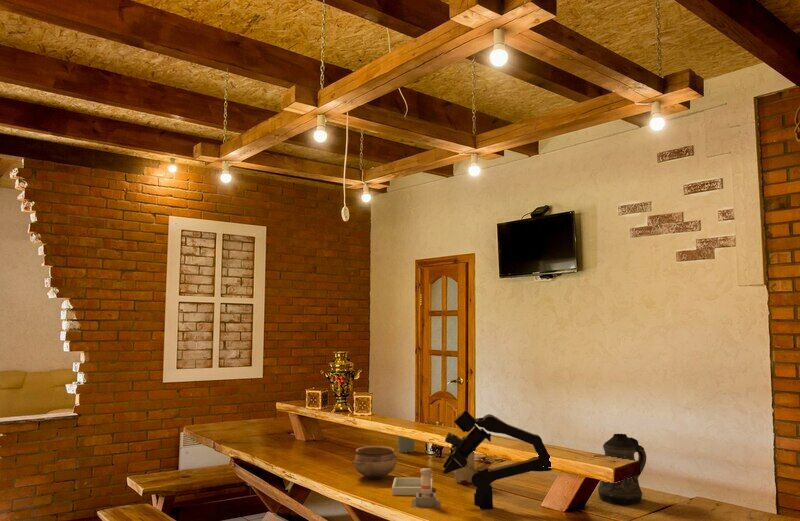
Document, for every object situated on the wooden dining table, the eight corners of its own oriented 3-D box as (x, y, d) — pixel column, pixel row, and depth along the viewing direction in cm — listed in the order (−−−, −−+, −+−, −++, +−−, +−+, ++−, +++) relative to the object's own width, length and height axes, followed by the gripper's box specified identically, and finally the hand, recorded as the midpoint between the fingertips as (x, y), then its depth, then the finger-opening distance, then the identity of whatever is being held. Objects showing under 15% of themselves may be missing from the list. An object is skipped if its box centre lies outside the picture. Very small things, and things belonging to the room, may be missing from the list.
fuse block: (440, 502, 242) (440, 490, 242) (440, 510, 232) (440, 497, 233) (412, 501, 243) (412, 489, 243) (411, 509, 233) (411, 496, 233)
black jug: (590, 499, 245) (588, 434, 248) (613, 490, 259) (611, 428, 261) (630, 508, 234) (628, 440, 236) (653, 498, 247) (650, 433, 250)
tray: (432, 487, 264) (432, 477, 265) (431, 497, 248) (431, 488, 249) (394, 486, 265) (394, 477, 266) (391, 497, 249) (391, 487, 250)
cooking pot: (365, 486, 266) (365, 457, 267) (340, 478, 280) (340, 450, 281) (409, 477, 281) (409, 449, 283) (383, 469, 296) (383, 443, 297)
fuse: (431, 501, 240) (431, 468, 241) (431, 504, 235) (431, 470, 237) (420, 501, 240) (420, 468, 241) (420, 504, 236) (420, 470, 237)
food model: (451, 483, 270) (450, 436, 272) (458, 480, 276) (458, 434, 278) (471, 486, 265) (470, 438, 267) (478, 483, 270) (477, 436, 272)
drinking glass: (394, 450, 339) (394, 428, 340) (410, 448, 343) (410, 426, 344) (402, 454, 330) (402, 431, 331) (419, 452, 334) (419, 429, 335)
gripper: (456, 421, 249) (429, 449, 248) (457, 429, 230) (428, 460, 230) (476, 442, 248) (449, 470, 247) (479, 451, 229) (449, 482, 229)
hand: (443, 470), depth 238 cm, fingers open, 9 cm apart
